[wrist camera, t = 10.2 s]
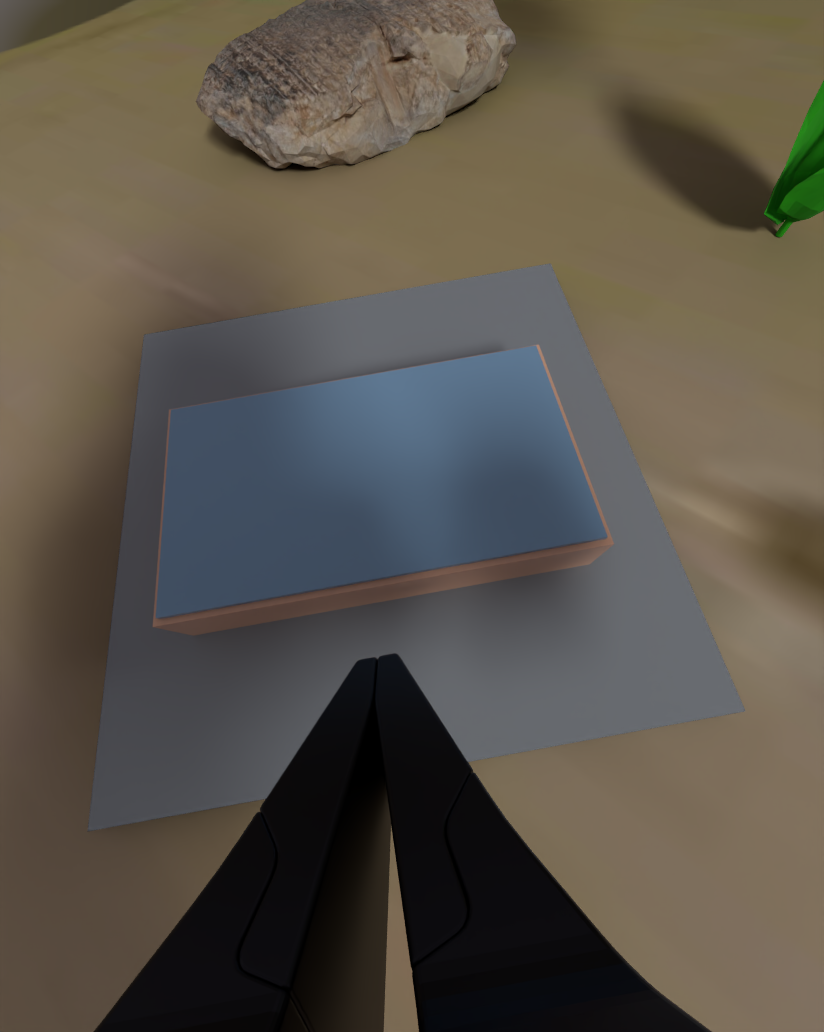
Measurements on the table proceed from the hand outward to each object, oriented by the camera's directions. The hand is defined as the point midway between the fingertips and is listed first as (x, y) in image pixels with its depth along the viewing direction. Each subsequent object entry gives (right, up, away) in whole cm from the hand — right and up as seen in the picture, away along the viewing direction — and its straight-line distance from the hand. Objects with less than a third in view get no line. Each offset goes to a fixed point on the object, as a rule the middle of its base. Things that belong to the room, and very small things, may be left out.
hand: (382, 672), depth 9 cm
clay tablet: (-3, +31, +20) cm, 37 cm away
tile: (0, +1, +5) cm, 5 cm away
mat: (-1, +4, +8) cm, 9 cm away
